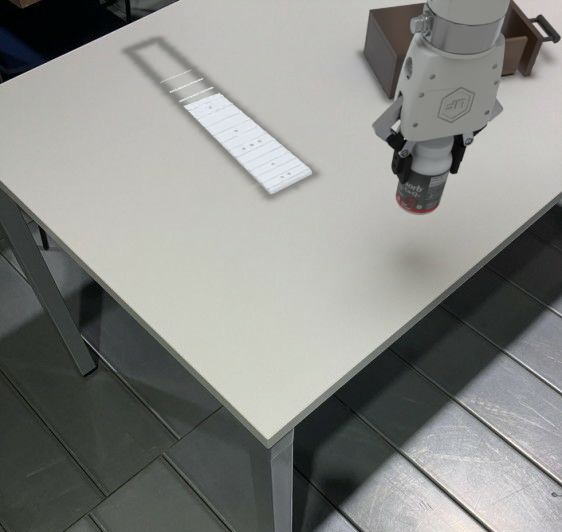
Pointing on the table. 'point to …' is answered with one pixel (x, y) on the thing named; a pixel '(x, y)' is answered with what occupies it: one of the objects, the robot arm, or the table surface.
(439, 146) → the pill bottle
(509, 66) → the drawer
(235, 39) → the table surface
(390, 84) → the cabinet
